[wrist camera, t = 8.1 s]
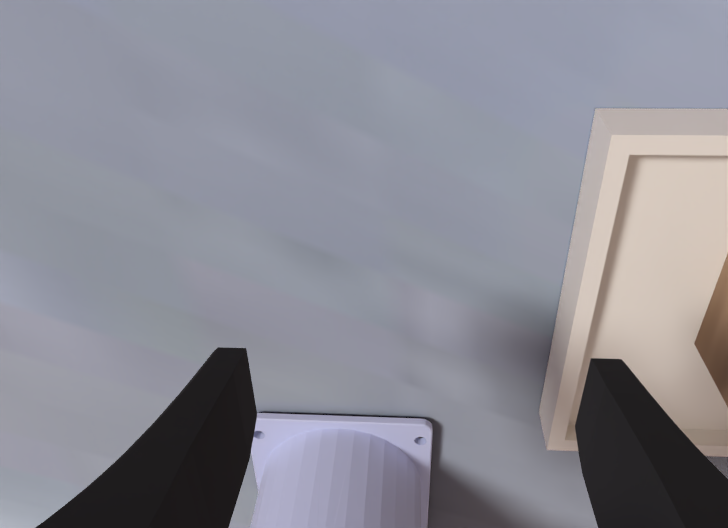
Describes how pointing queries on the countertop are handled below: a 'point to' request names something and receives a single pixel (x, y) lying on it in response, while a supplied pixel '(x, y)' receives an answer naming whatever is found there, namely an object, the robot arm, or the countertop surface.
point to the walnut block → (716, 334)
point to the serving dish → (644, 268)
